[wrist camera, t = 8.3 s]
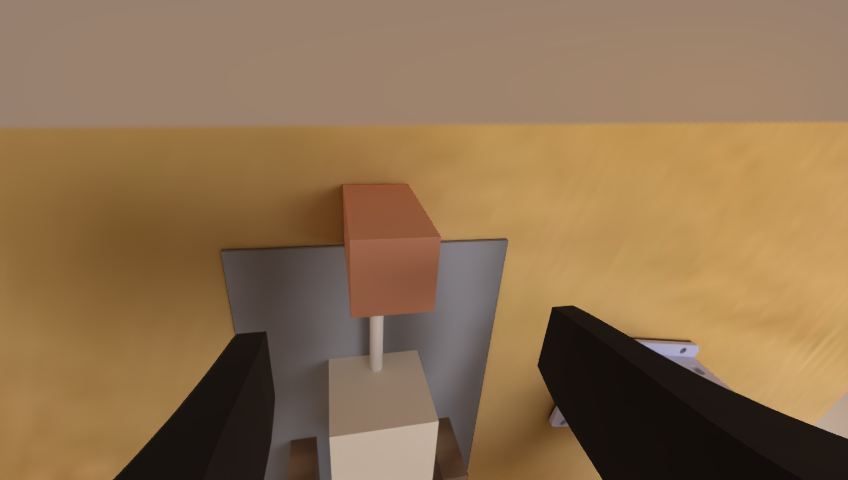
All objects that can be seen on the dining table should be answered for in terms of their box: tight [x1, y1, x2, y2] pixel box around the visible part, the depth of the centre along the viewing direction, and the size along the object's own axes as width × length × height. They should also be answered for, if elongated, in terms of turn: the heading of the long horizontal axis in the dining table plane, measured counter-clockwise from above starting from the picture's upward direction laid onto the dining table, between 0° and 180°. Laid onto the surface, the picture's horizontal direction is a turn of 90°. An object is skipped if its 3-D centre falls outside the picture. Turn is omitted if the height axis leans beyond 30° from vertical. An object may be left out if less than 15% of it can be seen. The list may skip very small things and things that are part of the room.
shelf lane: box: [221, 239, 508, 480], centre depth 22 cm, size 14×25×6 cm, turn 176°
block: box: [329, 184, 441, 480], centre depth 18 cm, size 5×15×6 cm, turn 176°
